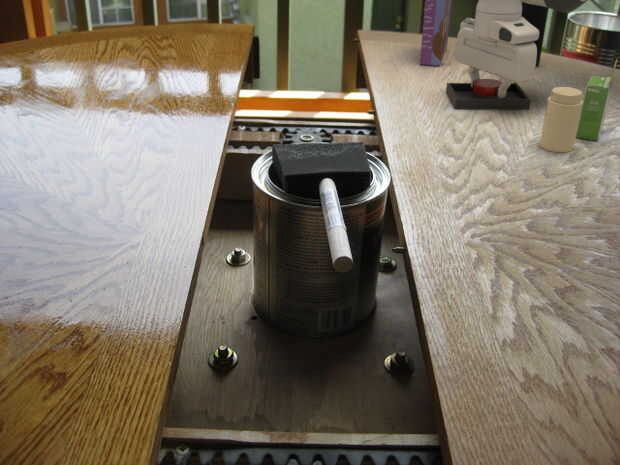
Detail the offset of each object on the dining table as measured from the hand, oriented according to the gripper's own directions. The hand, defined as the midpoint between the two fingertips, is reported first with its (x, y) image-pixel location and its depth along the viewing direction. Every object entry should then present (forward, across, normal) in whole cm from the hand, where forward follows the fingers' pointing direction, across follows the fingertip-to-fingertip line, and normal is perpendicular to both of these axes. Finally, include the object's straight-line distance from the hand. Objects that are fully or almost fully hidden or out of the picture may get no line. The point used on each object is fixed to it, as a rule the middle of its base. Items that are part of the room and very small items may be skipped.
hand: (487, 92), depth 138 cm
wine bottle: (+2, -17, +28) cm, 33 cm away
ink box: (+2, +24, +4) cm, 24 cm away
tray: (+2, 0, 0) cm, 2 cm away
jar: (+2, +25, -6) cm, 26 cm away
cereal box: (+2, -34, +12) cm, 36 cm away
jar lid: (-2, 0, 0) cm, 2 cm away
